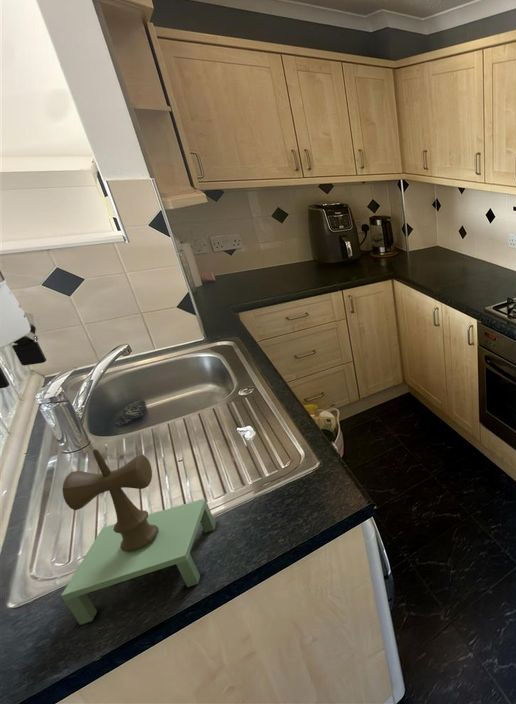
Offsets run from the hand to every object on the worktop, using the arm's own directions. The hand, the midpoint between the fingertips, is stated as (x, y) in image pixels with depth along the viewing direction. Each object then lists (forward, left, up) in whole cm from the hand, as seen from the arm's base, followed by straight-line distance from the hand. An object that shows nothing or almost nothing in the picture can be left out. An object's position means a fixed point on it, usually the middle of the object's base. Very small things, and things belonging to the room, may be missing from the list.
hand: (16, 375), depth 70 cm
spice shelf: (+14, -16, -36) cm, 42 cm away
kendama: (+14, -16, -29) cm, 36 cm away
